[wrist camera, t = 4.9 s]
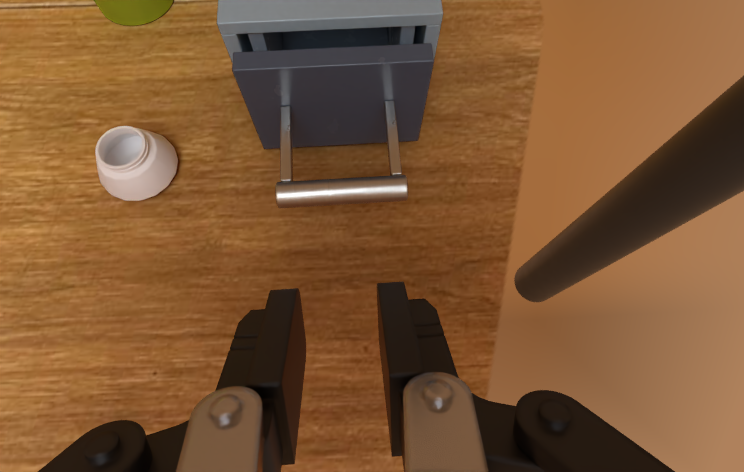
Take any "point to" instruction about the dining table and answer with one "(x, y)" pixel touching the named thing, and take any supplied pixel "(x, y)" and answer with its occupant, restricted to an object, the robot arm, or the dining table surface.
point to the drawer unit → (324, 18)
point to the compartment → (336, 103)
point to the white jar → (135, 163)
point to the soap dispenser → (133, 10)
